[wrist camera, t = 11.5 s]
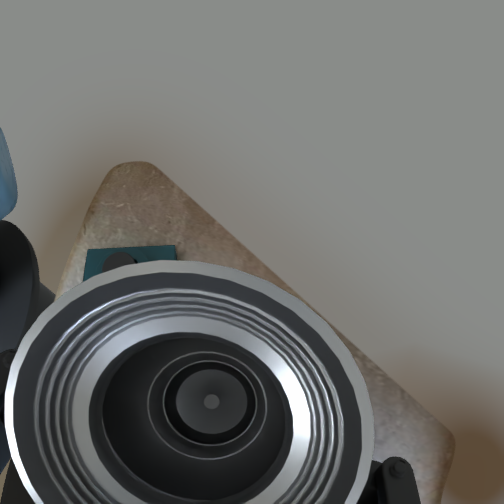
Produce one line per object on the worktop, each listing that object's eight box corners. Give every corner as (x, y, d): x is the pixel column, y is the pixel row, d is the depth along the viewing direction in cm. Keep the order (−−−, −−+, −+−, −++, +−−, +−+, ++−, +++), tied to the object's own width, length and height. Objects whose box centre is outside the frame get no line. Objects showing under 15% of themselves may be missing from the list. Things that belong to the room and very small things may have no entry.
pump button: (106, 291, 29) (99, 284, 27) (109, 260, 31) (103, 252, 29) (138, 291, 30) (133, 284, 28) (140, 259, 32) (136, 250, 30)
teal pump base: (86, 320, 30) (73, 311, 27) (93, 257, 35) (82, 242, 31) (177, 320, 32) (172, 310, 29) (176, 253, 37) (173, 237, 33)
